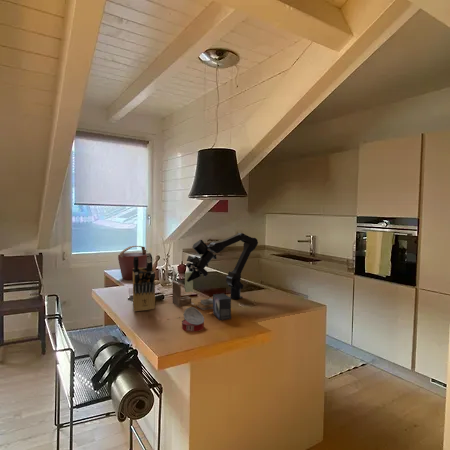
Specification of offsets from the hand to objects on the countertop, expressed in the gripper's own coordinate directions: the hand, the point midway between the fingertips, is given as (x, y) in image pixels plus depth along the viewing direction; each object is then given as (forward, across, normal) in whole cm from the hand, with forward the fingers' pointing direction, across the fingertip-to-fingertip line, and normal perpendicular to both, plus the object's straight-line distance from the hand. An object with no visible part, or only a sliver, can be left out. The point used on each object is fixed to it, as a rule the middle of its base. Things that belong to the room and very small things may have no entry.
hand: (186, 280), depth 185 cm
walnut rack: (+11, 0, +8) cm, 14 cm away
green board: (+3, 0, +5) cm, 6 cm away
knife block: (+25, -7, -6) cm, 27 cm away
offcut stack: (+5, +12, +14) cm, 19 cm away
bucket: (+15, -86, +5) cm, 88 cm away
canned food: (+18, +35, +2) cm, 39 cm away
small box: (+5, +27, +15) cm, 31 cm away
